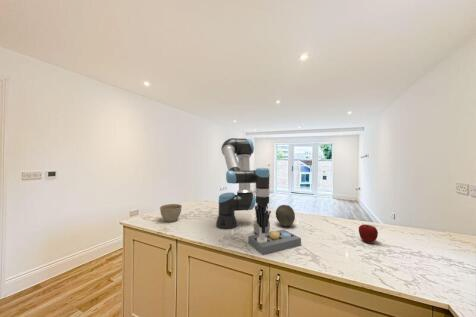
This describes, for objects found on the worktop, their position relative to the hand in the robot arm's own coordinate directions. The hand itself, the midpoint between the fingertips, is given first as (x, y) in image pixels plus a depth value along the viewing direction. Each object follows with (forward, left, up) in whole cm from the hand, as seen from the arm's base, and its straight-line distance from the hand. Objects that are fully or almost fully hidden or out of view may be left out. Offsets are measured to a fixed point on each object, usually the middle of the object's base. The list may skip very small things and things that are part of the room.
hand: (262, 238), depth 108 cm
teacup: (-18, +12, -5) cm, 22 cm away
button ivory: (0, 0, -4) cm, 4 cm away
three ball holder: (0, +9, -5) cm, 10 cm away
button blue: (0, +17, -4) cm, 18 cm away
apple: (+21, +62, -5) cm, 65 cm away
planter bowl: (-69, -39, -5) cm, 80 cm away
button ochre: (0, +9, -2) cm, 9 cm away
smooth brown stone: (-22, +35, -5) cm, 41 cm away
